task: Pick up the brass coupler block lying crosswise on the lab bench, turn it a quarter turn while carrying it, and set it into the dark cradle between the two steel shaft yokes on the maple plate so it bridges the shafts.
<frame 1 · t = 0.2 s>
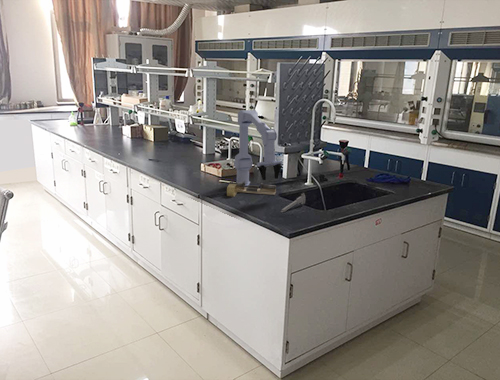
hand: (270, 179, 217), 10 cm above the countertop, tool pointing down, fingers open, 7 cm apart
coupler: (231, 194, 224), on the countertop
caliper: (293, 208, 206), on the countertop
mechanism: (252, 191, 232), on the countertop
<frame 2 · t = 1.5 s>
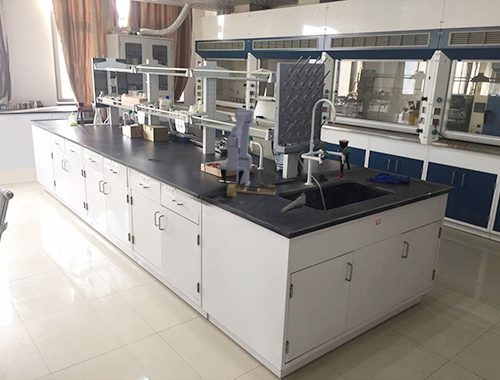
hand: (232, 183, 223), 6 cm above the countertop, tool pointing down, fingers open, 7 cm apart
nothing on the countertop moved.
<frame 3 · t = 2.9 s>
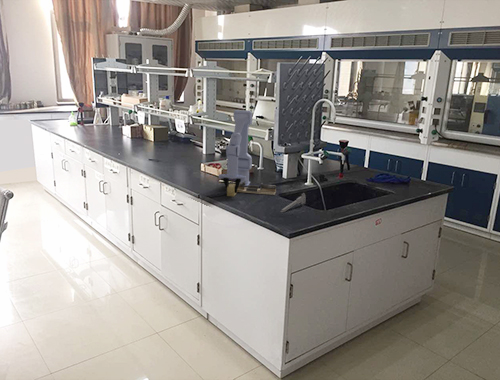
hand: (231, 191, 224), 1 cm above the countertop, tool pointing down, fingers closed on coupler, 4 cm apart
coupler: (231, 194, 224), on the countertop, touching gripper
everything else where it was.
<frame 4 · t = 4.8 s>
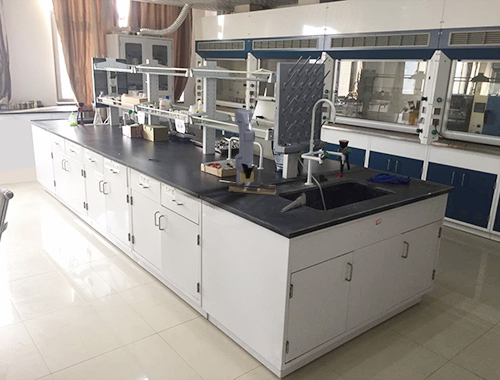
hand: (247, 177, 227), 8 cm above the countertop, tool pointing down, fingers closed on coupler, 4 cm apart
coupler: (246, 181, 228), point 6 cm above the countertop, touching gripper
everything else where it was.
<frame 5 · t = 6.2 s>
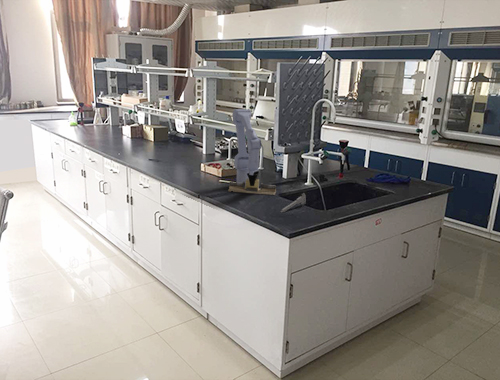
hand: (252, 184, 231), 4 cm above the countertop, tool pointing down, fingers closed on coupler, 4 cm apart
coupler: (252, 188, 231), point 2 cm above the countertop, touching gripper
everything else where it was.
when the fingers open (4 cm above the countertop, at t = 7.0 s): coupler stays where it is, resting on mechanism.
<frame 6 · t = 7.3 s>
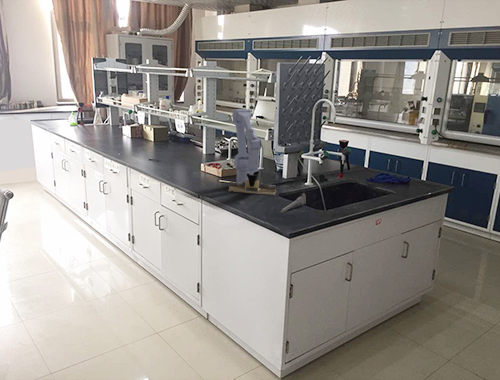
hand: (252, 184, 231), 4 cm above the countertop, tool pointing down, fingers open, 7 cm apart
coupler: (252, 189, 231), point 1 cm above the countertop, touching mechanism
everything else where it was.
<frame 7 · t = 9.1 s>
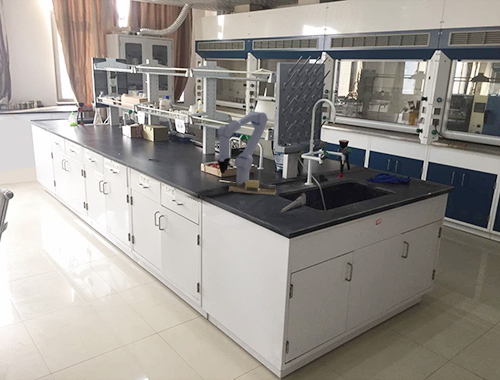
hand: (223, 171, 235), 9 cm above the countertop, tool pointing down, fingers open, 7 cm apart
nothing on the countertop moved.
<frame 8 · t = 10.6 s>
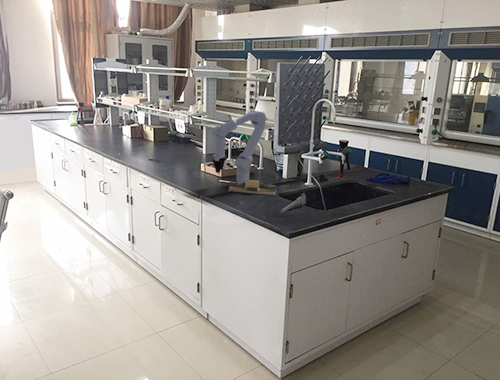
hand: (219, 171, 236), 9 cm above the countertop, tool pointing down, fingers open, 7 cm apart
nothing on the countertop moved.
at the end: coupler 0.2 cm off-centre on the mechanism, point 1.0 cm above the mechanism's base; coupler tilted 0°; the gripper is holding nothing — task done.
